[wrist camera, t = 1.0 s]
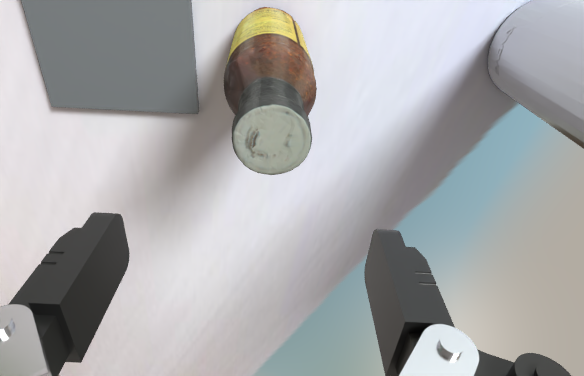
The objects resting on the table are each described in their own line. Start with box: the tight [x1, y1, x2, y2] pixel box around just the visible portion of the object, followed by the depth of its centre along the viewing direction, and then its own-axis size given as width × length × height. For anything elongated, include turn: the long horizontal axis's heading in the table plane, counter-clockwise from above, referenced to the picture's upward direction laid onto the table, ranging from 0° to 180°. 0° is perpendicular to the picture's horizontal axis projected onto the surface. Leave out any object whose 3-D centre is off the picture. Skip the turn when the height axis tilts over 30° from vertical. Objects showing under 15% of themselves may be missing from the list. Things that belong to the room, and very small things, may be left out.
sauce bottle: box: [224, 7, 317, 175], centre depth 27 cm, size 6×6×20 cm
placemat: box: [21, 0, 199, 114], centre depth 35 cm, size 14×12×1 cm
